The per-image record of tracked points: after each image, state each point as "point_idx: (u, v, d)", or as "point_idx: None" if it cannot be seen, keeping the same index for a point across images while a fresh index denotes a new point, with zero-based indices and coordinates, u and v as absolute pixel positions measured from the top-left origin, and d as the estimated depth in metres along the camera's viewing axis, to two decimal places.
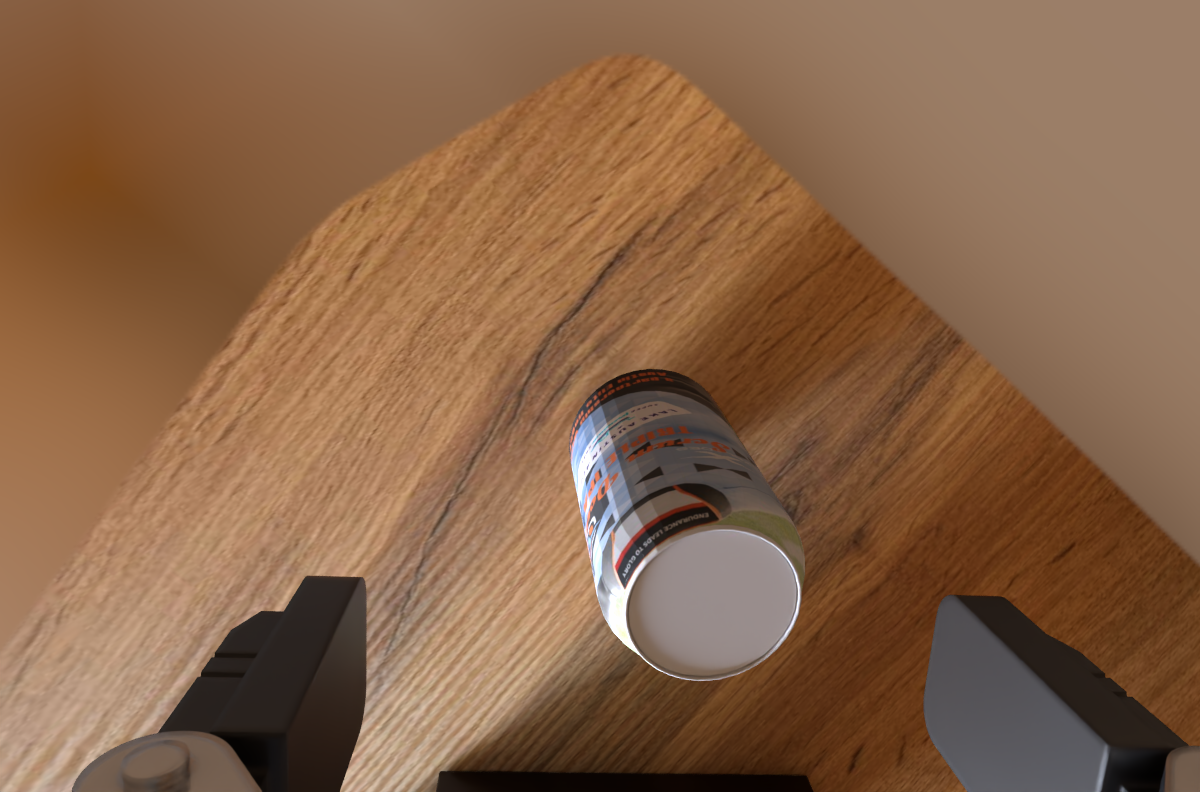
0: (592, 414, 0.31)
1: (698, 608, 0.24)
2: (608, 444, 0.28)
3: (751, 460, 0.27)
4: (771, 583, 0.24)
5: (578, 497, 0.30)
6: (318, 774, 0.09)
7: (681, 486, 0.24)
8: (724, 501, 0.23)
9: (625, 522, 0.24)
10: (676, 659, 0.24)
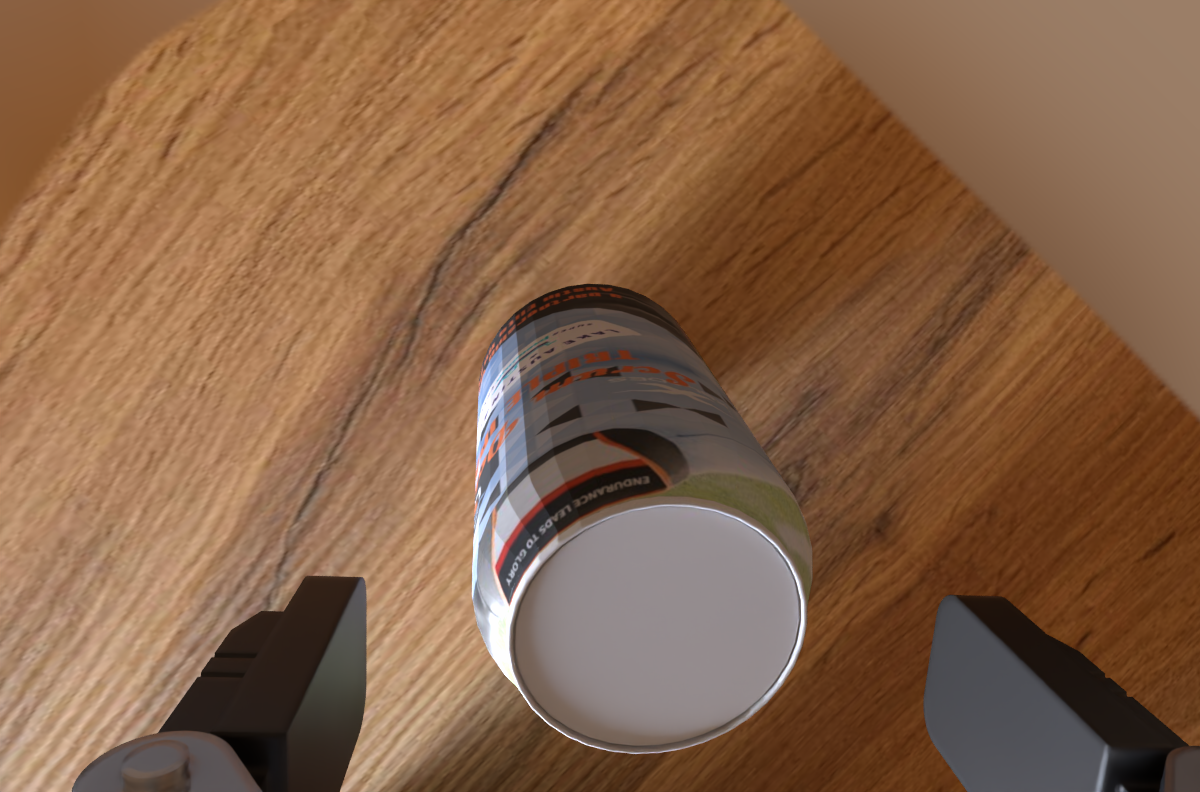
0: (503, 345, 0.21)
1: (635, 637, 0.14)
2: (514, 379, 0.19)
3: (729, 402, 0.18)
4: (757, 595, 0.14)
5: None
6: (318, 774, 0.09)
7: (606, 433, 0.14)
8: (677, 458, 0.14)
9: (513, 492, 0.14)
10: (600, 720, 0.15)
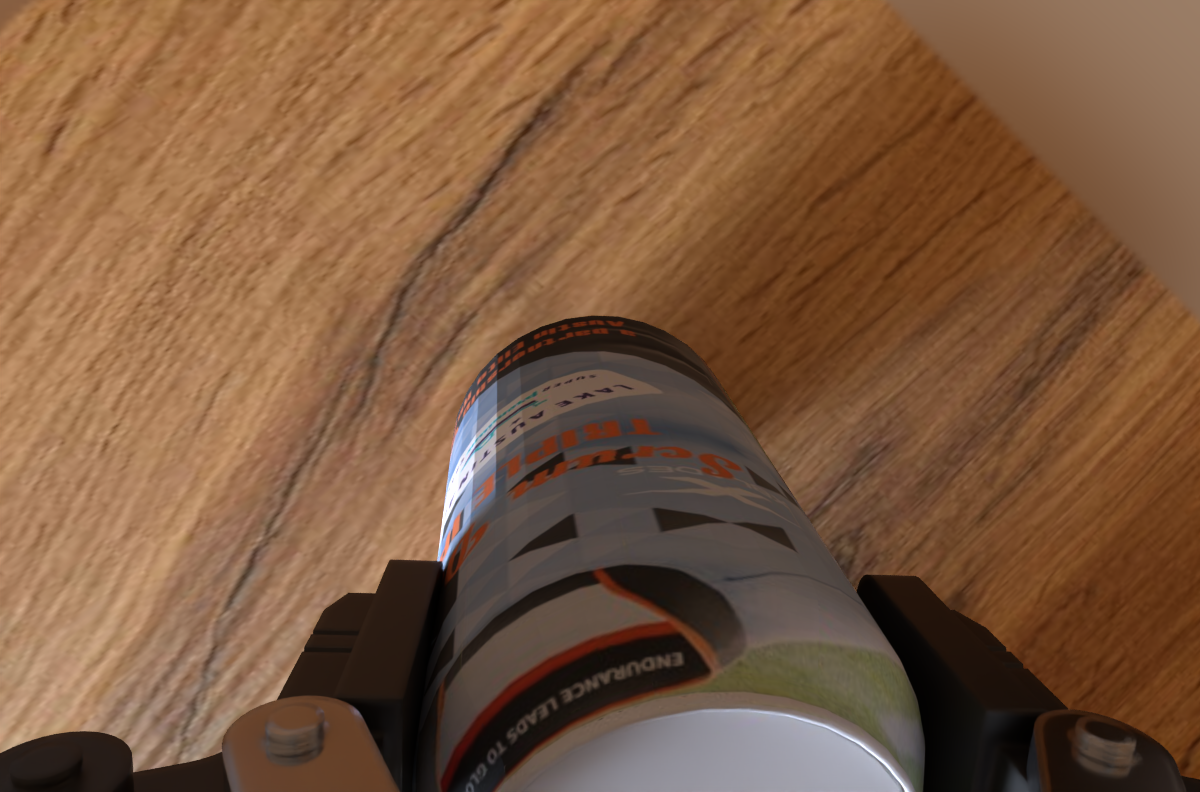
0: (481, 398, 0.16)
1: None
2: (488, 456, 0.13)
3: (788, 493, 0.13)
4: None
5: None
6: None
7: (614, 574, 0.09)
8: (726, 619, 0.09)
9: (469, 663, 0.09)
10: None
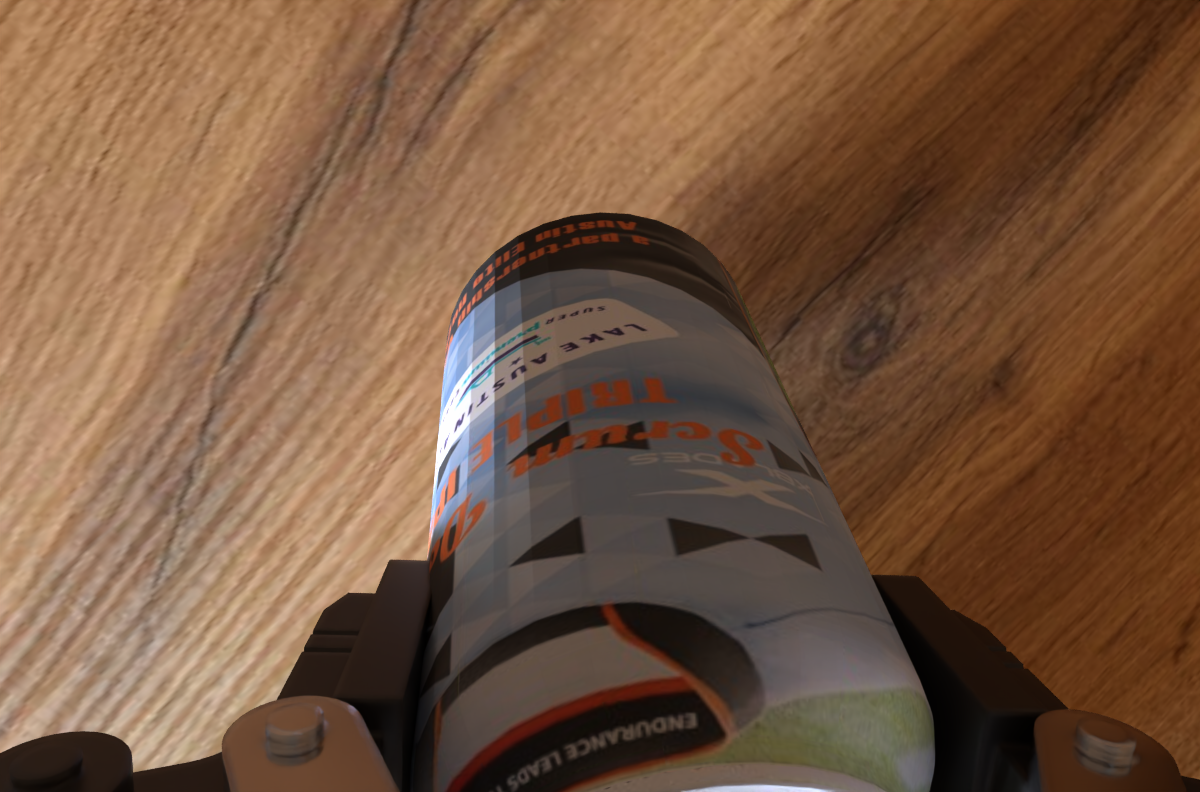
0: (476, 310, 0.15)
1: None
2: (486, 402, 0.12)
3: (810, 462, 0.12)
4: None
5: None
6: None
7: (625, 614, 0.08)
8: (745, 674, 0.08)
9: (467, 694, 0.09)
10: None
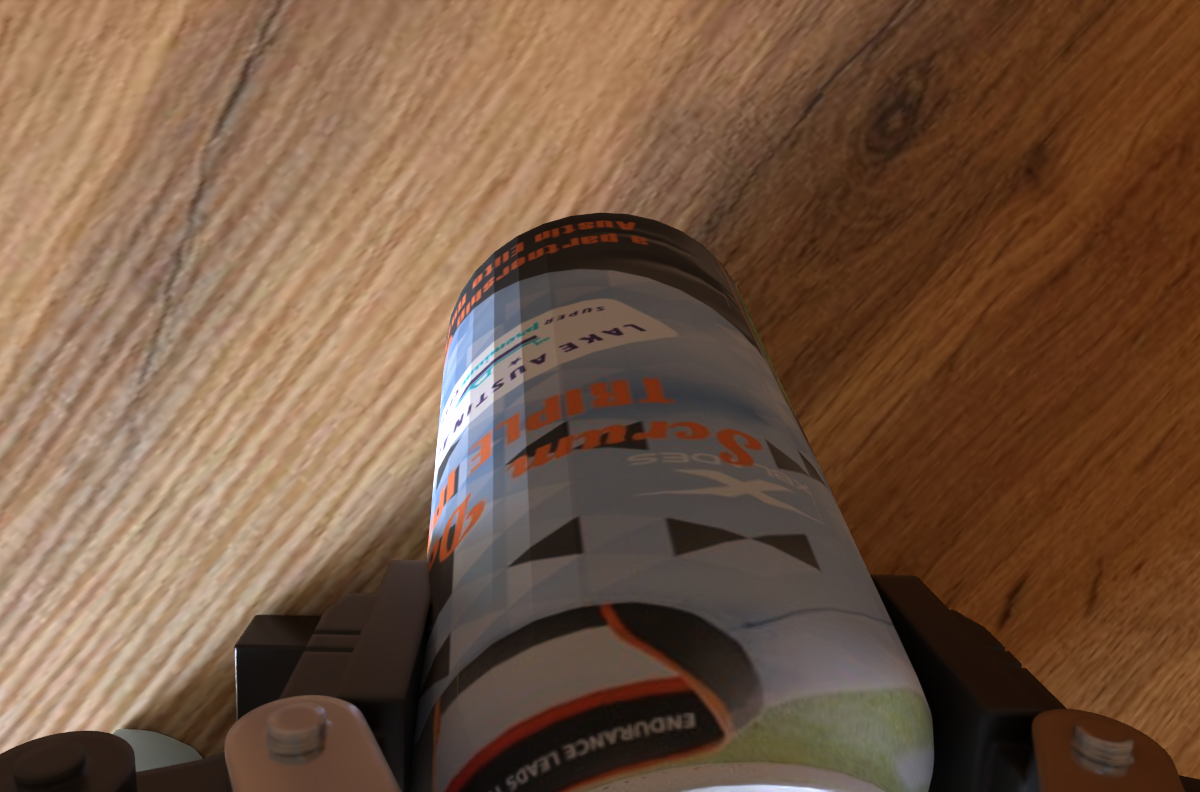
0: (476, 310, 0.15)
1: None
2: (485, 403, 0.12)
3: (809, 462, 0.12)
4: None
5: None
6: None
7: (624, 614, 0.08)
8: (743, 674, 0.08)
9: (467, 693, 0.09)
10: None
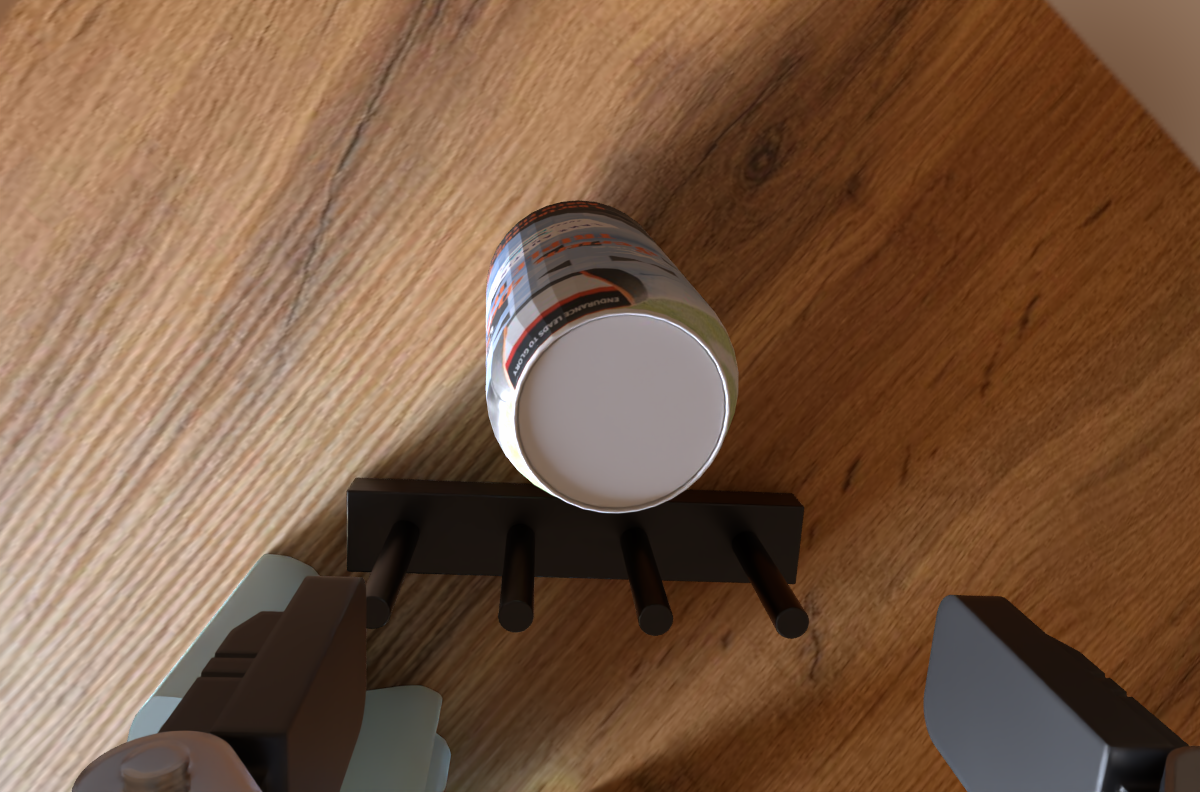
0: (509, 242, 0.27)
1: (605, 417, 0.19)
2: (519, 257, 0.24)
3: None
4: (694, 390, 0.19)
5: None
6: (318, 774, 0.09)
7: (589, 271, 0.20)
8: (639, 287, 0.19)
9: (519, 312, 0.20)
10: (578, 483, 0.20)
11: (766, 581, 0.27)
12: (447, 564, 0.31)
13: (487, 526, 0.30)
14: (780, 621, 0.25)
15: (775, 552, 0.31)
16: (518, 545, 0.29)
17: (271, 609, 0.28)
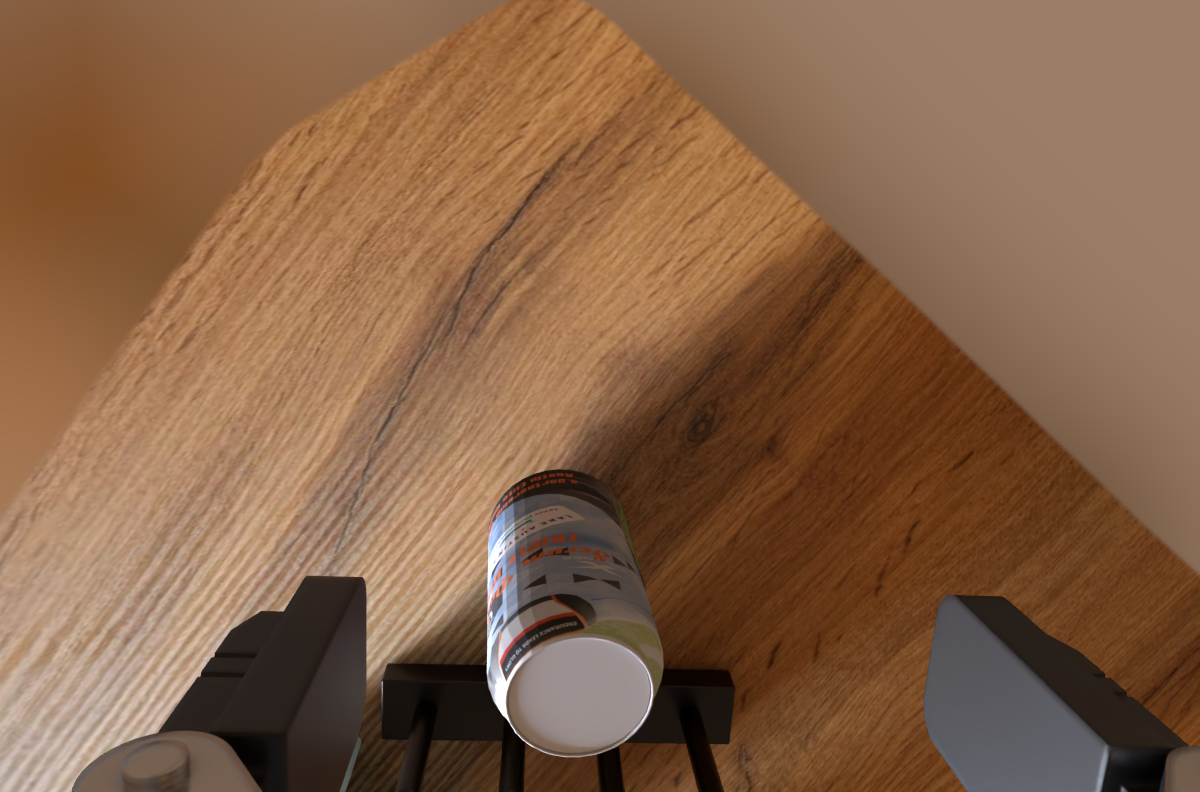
0: (505, 510, 0.36)
1: (567, 699, 0.28)
2: (511, 544, 0.33)
3: (630, 564, 0.32)
4: (629, 679, 0.28)
5: None
6: (318, 774, 0.09)
7: (557, 596, 0.29)
8: (591, 611, 0.28)
9: (510, 624, 0.29)
10: (549, 739, 0.29)
11: (699, 762, 0.36)
12: (458, 733, 0.40)
13: (489, 704, 0.39)
14: None
15: (713, 721, 0.40)
16: None
17: None
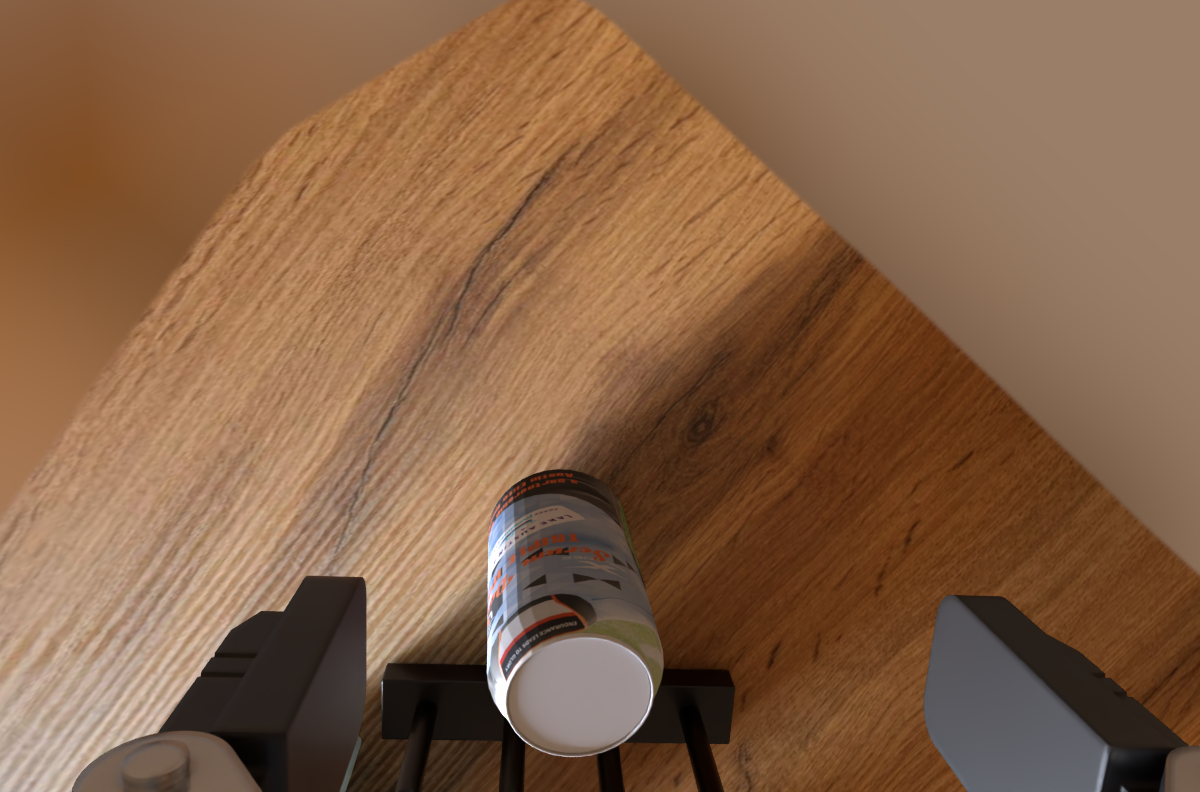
0: (505, 510, 0.36)
1: (567, 698, 0.28)
2: (512, 544, 0.33)
3: (630, 564, 0.32)
4: (629, 679, 0.28)
5: None
6: (318, 774, 0.09)
7: (557, 596, 0.29)
8: (591, 611, 0.28)
9: (510, 624, 0.29)
10: (549, 739, 0.29)
11: (698, 762, 0.36)
12: (458, 732, 0.40)
13: (489, 704, 0.39)
14: None
15: (713, 720, 0.40)
16: None
17: None
